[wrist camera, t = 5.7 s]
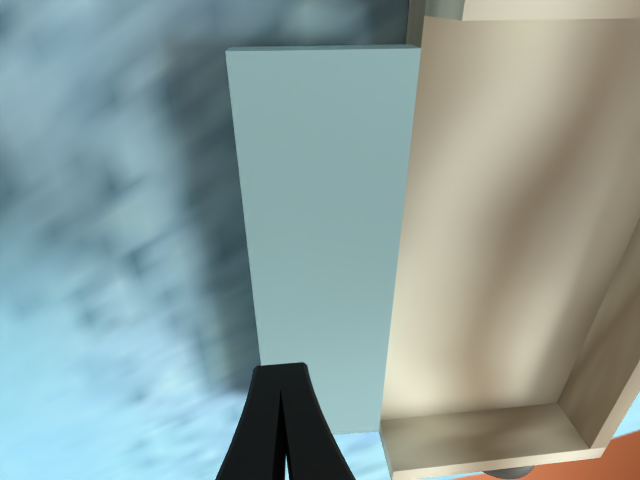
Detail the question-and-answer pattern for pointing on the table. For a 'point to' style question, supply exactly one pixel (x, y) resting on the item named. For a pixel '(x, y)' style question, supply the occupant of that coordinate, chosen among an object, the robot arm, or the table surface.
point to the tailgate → (325, 209)
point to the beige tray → (516, 238)
